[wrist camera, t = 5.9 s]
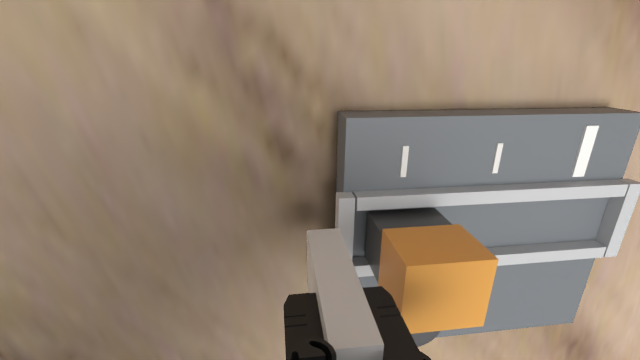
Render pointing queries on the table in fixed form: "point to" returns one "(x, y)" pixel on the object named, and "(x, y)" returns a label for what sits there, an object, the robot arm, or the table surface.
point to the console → (497, 194)
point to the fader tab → (430, 268)
